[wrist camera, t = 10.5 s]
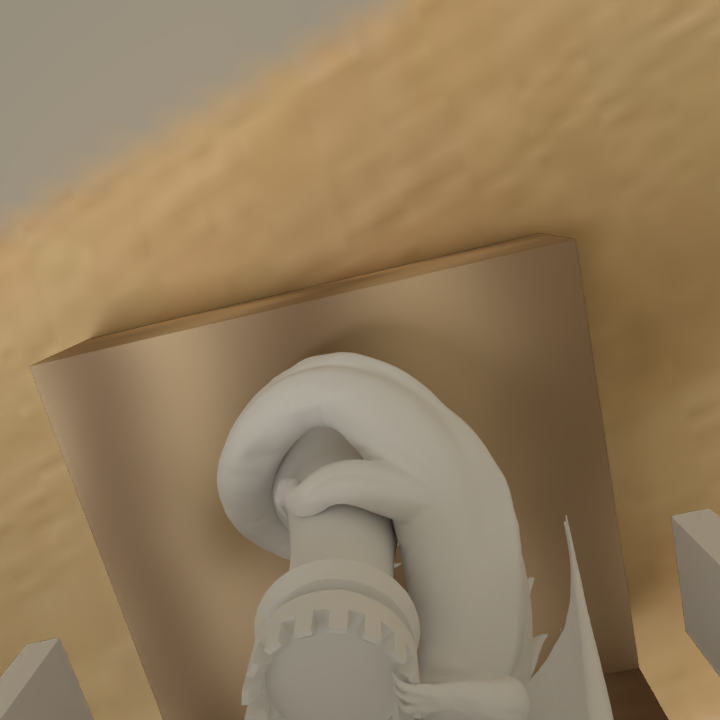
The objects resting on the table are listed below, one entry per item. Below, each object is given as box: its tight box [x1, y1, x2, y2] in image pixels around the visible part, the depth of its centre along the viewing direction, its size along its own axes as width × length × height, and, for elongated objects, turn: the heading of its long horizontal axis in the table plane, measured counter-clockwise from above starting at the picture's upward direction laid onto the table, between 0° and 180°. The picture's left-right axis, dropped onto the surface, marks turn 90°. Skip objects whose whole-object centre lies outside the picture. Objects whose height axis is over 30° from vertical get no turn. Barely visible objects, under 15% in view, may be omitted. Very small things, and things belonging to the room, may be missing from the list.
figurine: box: [217, 352, 614, 720], centre depth 12 cm, size 11×8×12 cm
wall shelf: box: [29, 233, 668, 720], centre depth 13 cm, size 15×15×16 cm
